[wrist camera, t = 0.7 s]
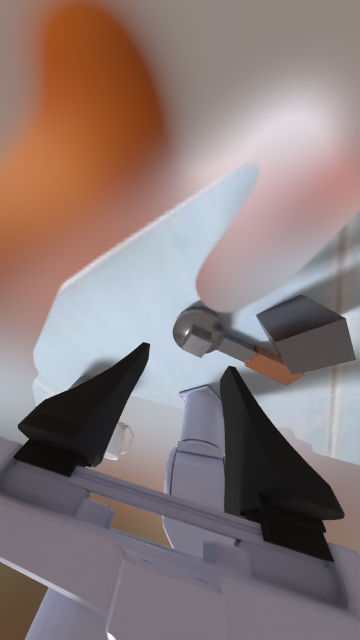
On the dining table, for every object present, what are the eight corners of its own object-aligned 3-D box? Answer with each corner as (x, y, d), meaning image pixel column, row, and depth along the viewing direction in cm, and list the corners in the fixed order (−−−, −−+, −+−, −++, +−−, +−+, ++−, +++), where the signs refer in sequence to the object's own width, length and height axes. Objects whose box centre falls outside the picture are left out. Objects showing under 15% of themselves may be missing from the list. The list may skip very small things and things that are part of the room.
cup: (109, 419, 47) (92, 449, 40) (134, 421, 44) (120, 454, 37) (117, 428, 50) (103, 458, 43) (140, 431, 47) (129, 463, 41)
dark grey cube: (313, 326, 18) (355, 359, 13) (270, 342, 20) (292, 374, 15) (301, 294, 16) (345, 318, 11) (256, 315, 19) (275, 342, 13)
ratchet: (309, 356, 21) (332, 382, 17) (272, 381, 25) (284, 407, 21) (186, 298, 19) (182, 312, 15) (168, 334, 23) (161, 353, 19)
